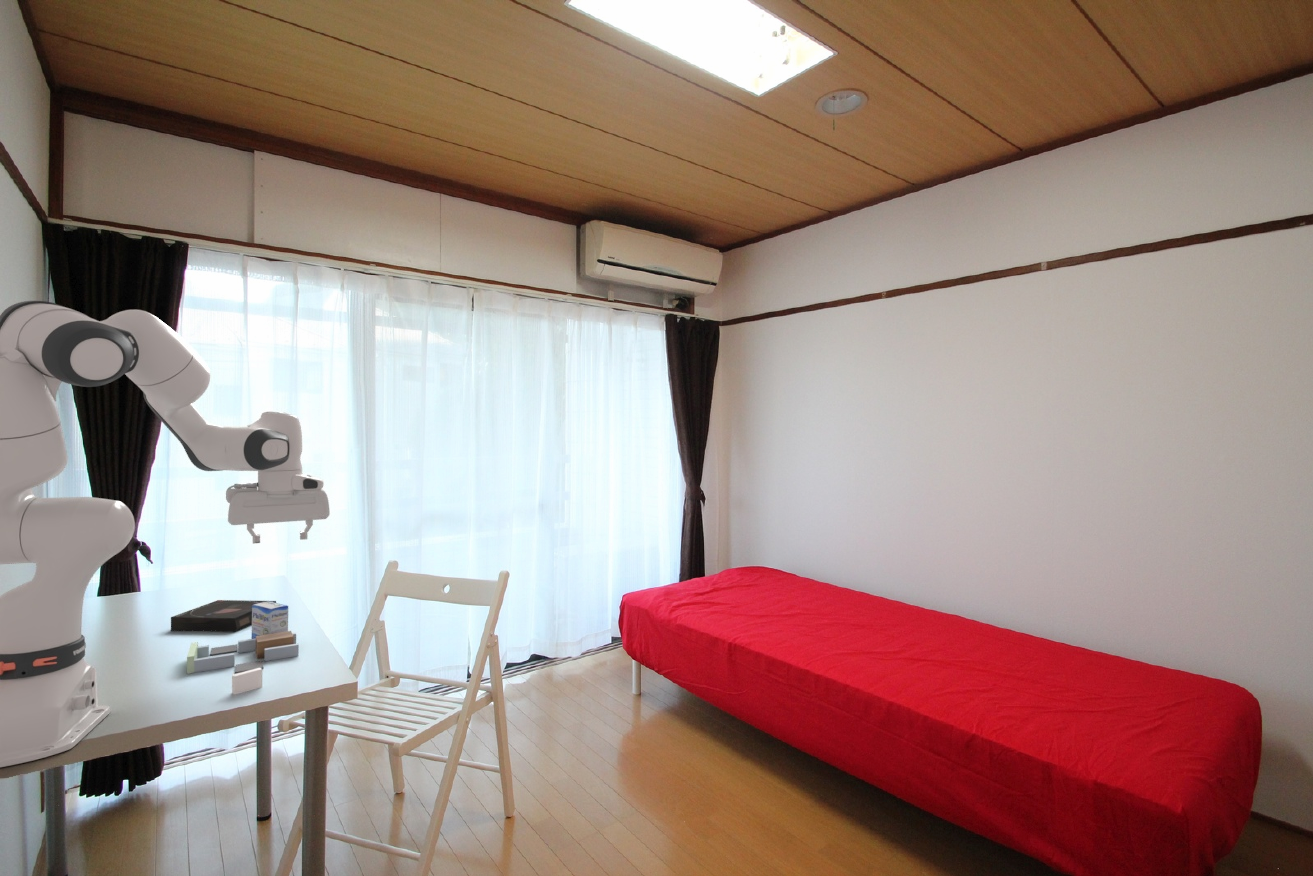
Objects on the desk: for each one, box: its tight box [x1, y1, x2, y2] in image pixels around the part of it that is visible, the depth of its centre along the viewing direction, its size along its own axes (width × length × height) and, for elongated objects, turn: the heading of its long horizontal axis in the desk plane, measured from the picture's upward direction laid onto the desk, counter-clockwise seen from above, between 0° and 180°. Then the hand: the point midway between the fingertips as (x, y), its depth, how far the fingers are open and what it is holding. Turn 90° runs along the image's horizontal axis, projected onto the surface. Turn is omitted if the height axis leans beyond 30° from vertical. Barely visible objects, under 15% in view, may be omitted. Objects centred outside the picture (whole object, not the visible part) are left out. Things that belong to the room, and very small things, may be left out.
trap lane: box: [186, 632, 299, 675], centre depth 139 cm, size 20×20×4 cm
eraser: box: [231, 668, 263, 695], centre depth 122 cm, size 1×5×4 cm, turn 143°
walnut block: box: [255, 630, 294, 660], centre depth 142 cm, size 5×7×4 cm
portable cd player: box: [170, 599, 277, 633], centre depth 166 cm, size 16×17×4 cm
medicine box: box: [250, 602, 289, 639], centre depth 151 cm, size 8×4×9 cm, turn 62°
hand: (280, 541), depth 145 cm, fingers open, 8 cm apart
